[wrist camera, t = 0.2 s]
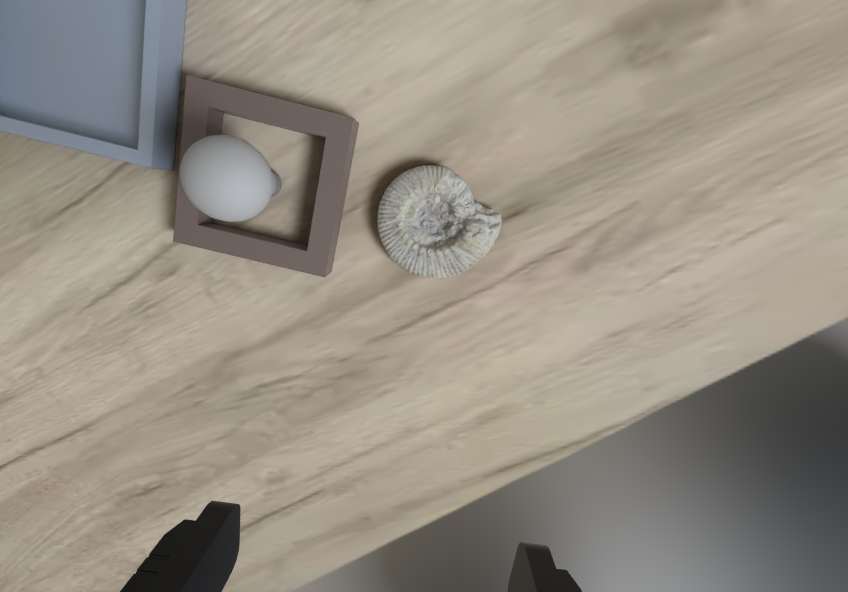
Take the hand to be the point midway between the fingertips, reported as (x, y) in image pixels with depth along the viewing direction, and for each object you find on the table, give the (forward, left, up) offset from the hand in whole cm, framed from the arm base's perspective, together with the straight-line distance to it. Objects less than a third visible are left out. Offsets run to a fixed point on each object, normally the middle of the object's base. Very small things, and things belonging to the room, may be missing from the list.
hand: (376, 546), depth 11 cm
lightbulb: (-7, -16, -29) cm, 34 cm away
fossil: (-7, 0, -29) cm, 30 cm away
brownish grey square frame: (-7, -16, -29) cm, 33 cm away
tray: (-14, -33, -29) cm, 46 cm away
